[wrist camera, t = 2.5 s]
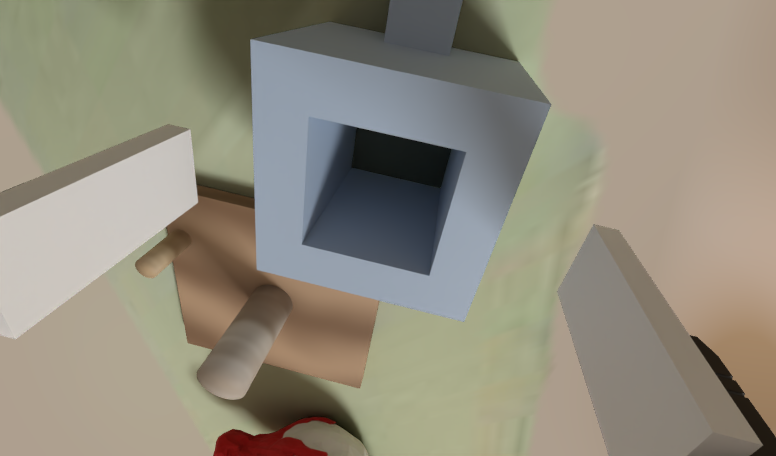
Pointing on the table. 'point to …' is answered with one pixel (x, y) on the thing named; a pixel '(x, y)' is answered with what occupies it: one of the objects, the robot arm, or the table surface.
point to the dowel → (163, 253)
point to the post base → (236, 274)
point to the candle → (293, 441)
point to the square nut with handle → (380, 192)
